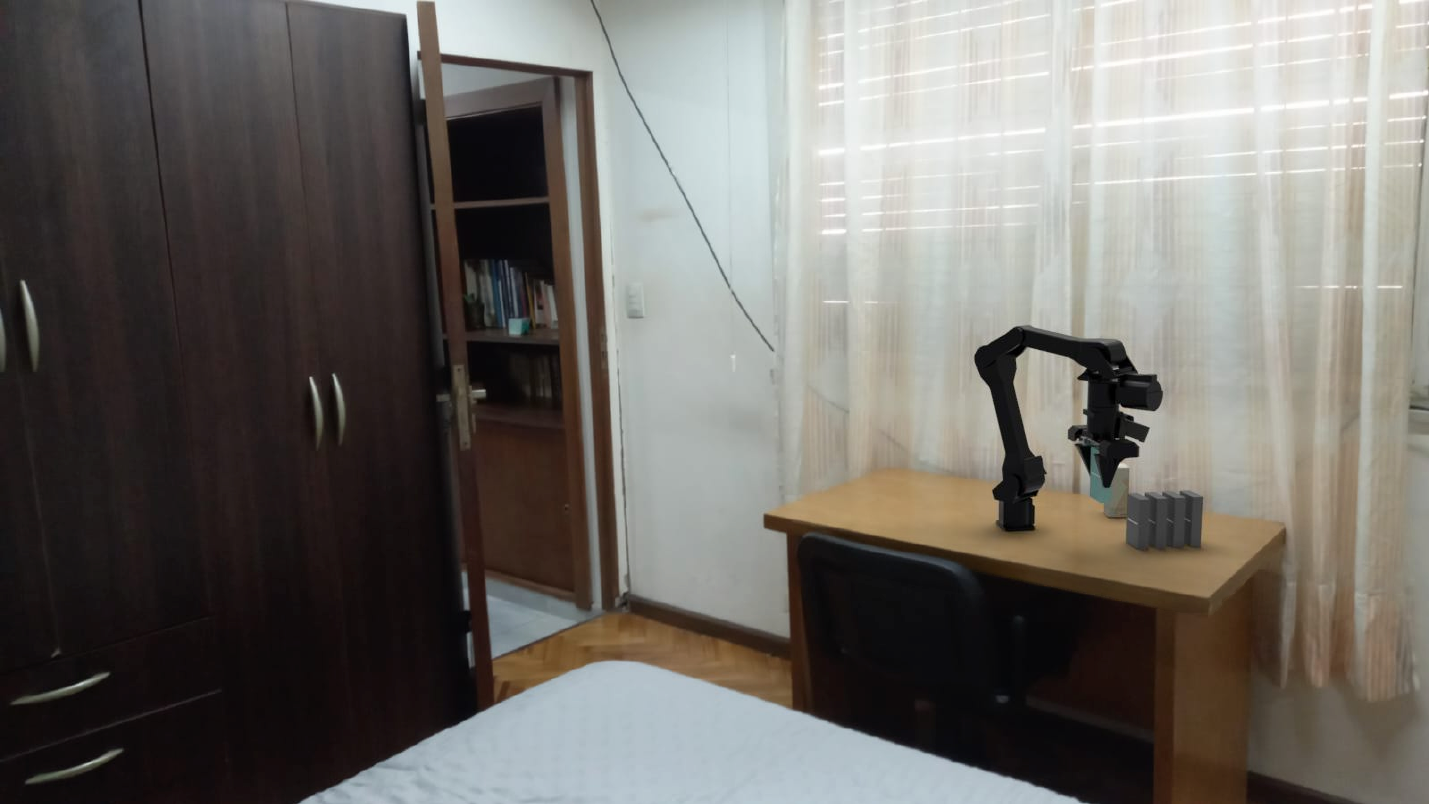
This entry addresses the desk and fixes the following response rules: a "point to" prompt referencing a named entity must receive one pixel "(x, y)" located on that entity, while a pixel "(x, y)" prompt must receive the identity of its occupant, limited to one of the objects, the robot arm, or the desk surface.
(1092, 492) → the head tile
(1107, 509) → the box
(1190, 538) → the tile
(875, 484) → the desk surface
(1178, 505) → the tile
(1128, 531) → the tile
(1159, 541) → the tile
